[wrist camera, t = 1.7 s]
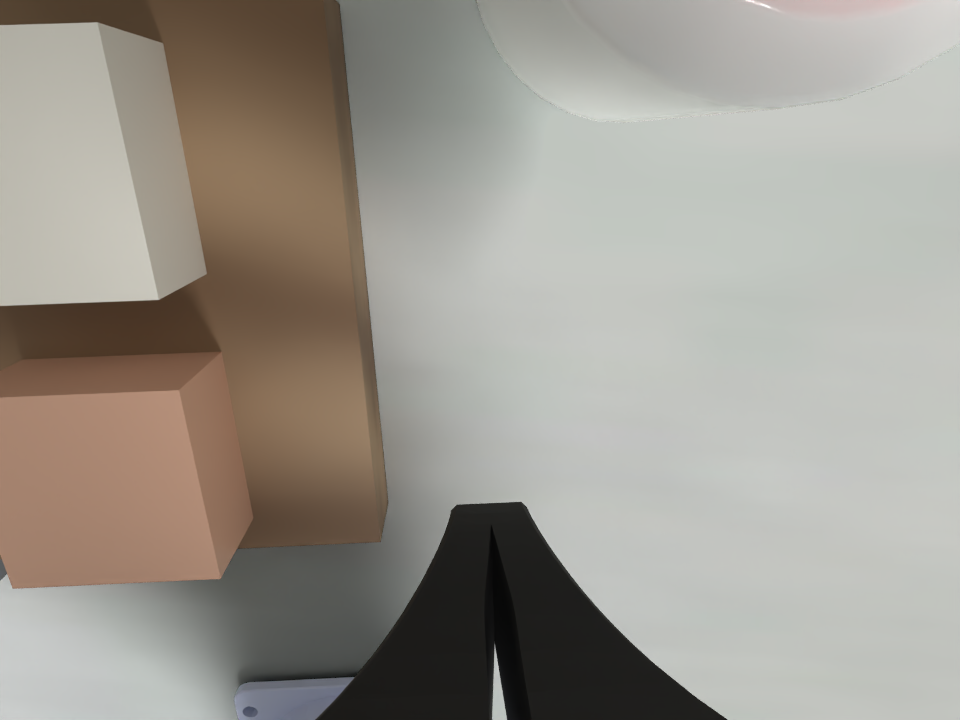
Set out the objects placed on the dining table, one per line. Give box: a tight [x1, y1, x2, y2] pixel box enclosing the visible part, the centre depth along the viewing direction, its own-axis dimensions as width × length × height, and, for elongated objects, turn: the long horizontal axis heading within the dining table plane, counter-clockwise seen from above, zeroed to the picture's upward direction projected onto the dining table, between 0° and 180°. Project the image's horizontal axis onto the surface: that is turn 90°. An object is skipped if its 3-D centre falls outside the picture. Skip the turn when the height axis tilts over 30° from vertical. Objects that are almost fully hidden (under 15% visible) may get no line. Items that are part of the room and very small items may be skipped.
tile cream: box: [0, 22, 207, 306], centre depth 13 cm, size 5×5×2 cm
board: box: [0, 0, 388, 560], centre depth 16 cm, size 14×12×2 cm
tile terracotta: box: [0, 352, 253, 589], centre depth 15 cm, size 5×5×2 cm
